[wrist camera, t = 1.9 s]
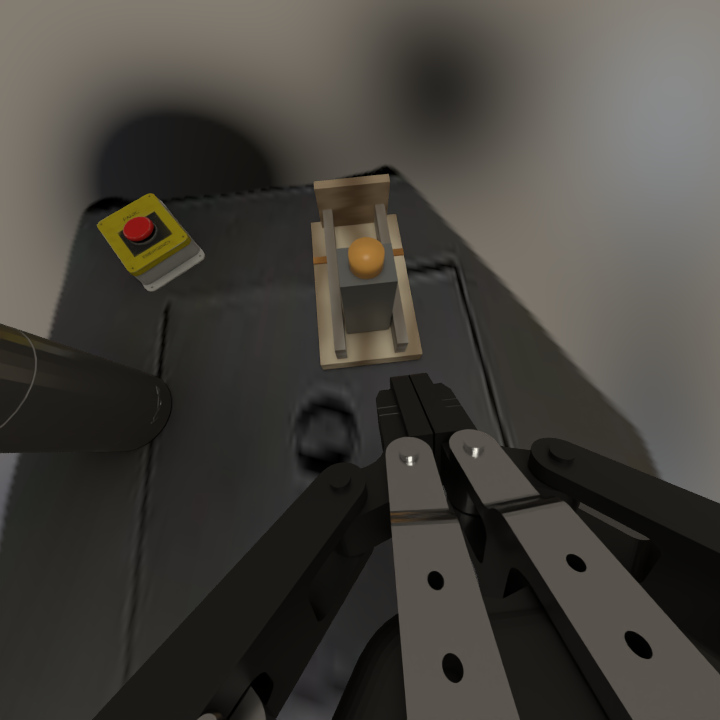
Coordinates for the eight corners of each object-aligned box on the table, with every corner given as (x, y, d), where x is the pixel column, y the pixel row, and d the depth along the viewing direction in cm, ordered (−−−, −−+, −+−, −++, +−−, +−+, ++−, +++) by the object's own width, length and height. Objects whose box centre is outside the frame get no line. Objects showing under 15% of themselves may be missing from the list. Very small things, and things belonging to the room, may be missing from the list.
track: (323, 369, 34) (310, 347, 26) (313, 233, 40) (301, 182, 33) (419, 359, 34) (434, 333, 26) (394, 224, 40) (400, 172, 33)
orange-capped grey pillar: (347, 333, 33) (338, 276, 22) (344, 304, 34) (334, 235, 23) (388, 329, 33) (400, 269, 22) (384, 300, 34) (393, 229, 23)
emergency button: (126, 278, 34) (78, 208, 38) (152, 296, 38) (107, 231, 42) (191, 237, 36) (139, 174, 39) (209, 259, 40) (161, 200, 43)
